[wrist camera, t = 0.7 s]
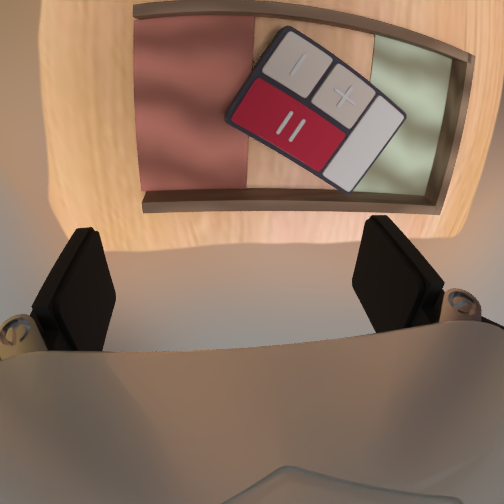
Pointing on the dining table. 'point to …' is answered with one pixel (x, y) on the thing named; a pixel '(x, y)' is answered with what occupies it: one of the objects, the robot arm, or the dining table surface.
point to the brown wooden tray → (236, 142)
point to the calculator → (315, 110)
